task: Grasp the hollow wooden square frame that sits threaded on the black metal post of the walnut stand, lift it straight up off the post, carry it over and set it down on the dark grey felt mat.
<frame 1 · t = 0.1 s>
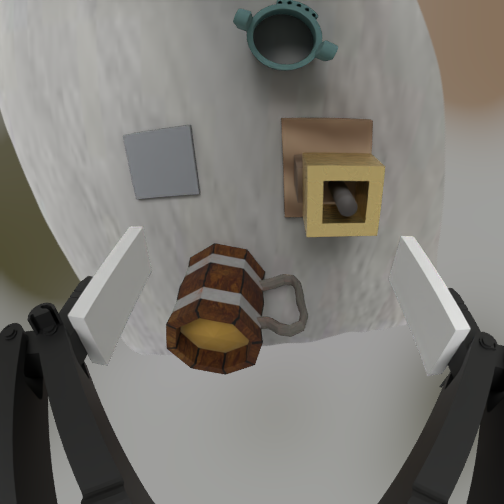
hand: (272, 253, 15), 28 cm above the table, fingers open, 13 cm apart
post stand: (326, 167, 40), on the table
felt mat: (161, 163, 41), on the table
mug: (243, 274, 52), on the table
hollow wooden square frame: (336, 185, 35), point 7 cm above the table, touching post stand
bracket: (284, 38, 31), on the table
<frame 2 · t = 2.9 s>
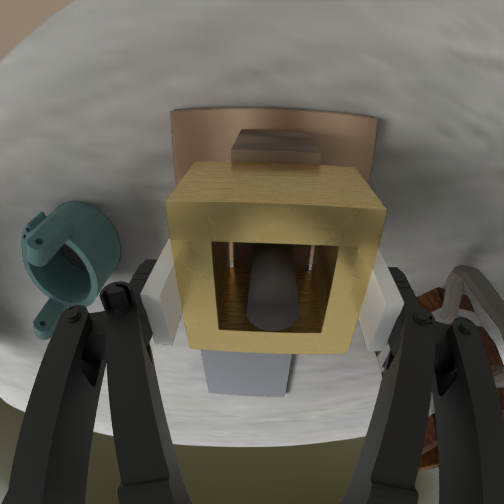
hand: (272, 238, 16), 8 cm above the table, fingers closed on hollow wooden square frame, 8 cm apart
post stand: (272, 187, 23), on the table
felt mat: (246, 371, 35), on the table
mug: (429, 311, 29), on the table
hollow wooden square frame: (272, 233, 17), point 7 cm above the table, touching gripper, post stand
bracket: (81, 237, 26), on the table
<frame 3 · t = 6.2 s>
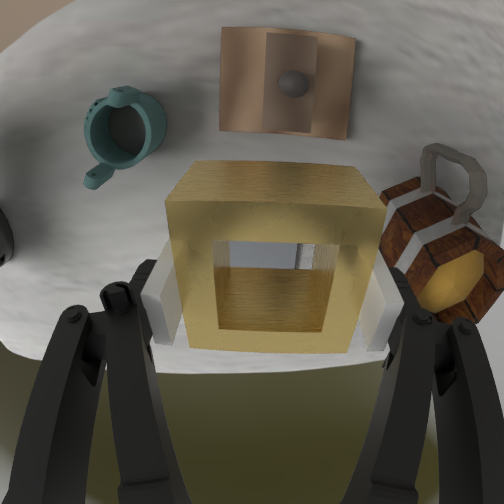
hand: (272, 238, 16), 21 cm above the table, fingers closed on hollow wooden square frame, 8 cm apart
post stand: (286, 80, 29), on the table
felt mat: (258, 256, 42), on the table
mug: (413, 202, 36), on the table
hollow wooden square frame: (272, 232, 17), point 20 cm above the table, touching gripper
bracket: (133, 123, 33), on the table
when the fingers open (3 cm above the table, at t = 9.6 s): hollow wooden square frame drops 1 cm, resting on felt mat.
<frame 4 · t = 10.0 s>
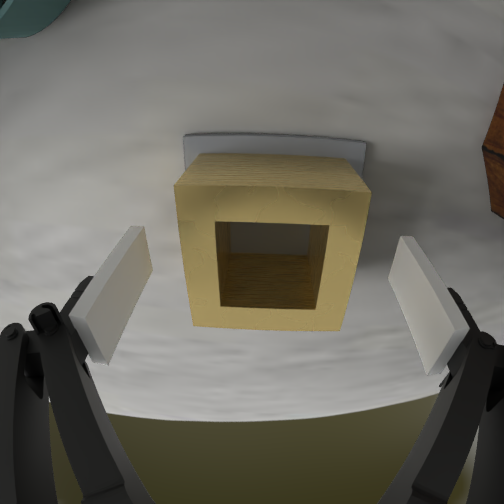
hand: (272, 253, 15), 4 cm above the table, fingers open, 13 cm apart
felt mat: (272, 215, 19), on the table
hollow wooden square frame: (270, 219, 18), point 1 cm above the table, touching felt mat
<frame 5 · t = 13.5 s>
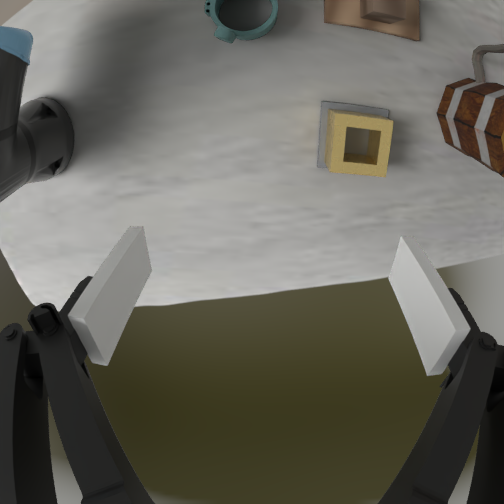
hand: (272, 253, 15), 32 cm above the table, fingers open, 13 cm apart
felt mat: (352, 137, 41), on the table
mug: (468, 99, 35), on the table
hollow wooden square frame: (352, 138, 41), point 1 cm above the table, touching felt mat
bracket: (243, 13, 32), on the table
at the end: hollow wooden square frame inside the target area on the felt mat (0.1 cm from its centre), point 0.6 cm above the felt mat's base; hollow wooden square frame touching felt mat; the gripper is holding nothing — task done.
